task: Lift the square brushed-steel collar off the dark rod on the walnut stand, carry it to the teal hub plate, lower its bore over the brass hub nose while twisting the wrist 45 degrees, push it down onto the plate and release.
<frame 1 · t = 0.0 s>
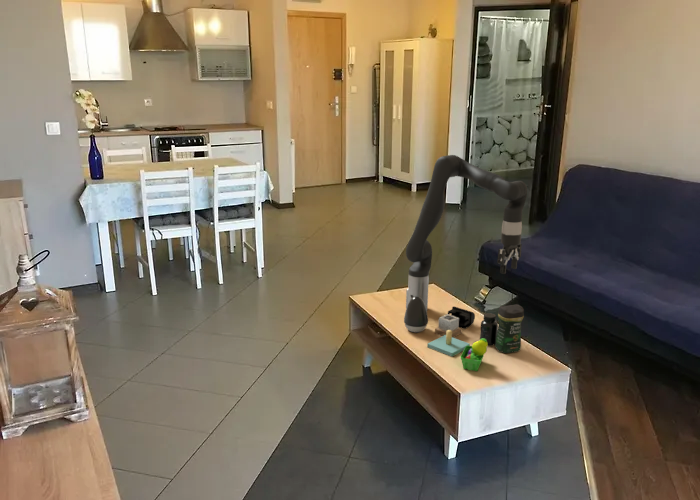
hand: (508, 271, 233), 29 cm above the table, fingers open, 8 cm apart
fruit basket: (474, 365, 218), on the table
coffee jar: (507, 349, 231), on the table
collar: (448, 328, 245), point 2 cm above the table, touching stand
dark grey rounded cone: (415, 330, 249), on the table
supplement bottle: (488, 343, 237), on the table
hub: (448, 347, 233), on the table
end cap: (460, 324, 255), on the table
stand: (448, 333, 246), on the table
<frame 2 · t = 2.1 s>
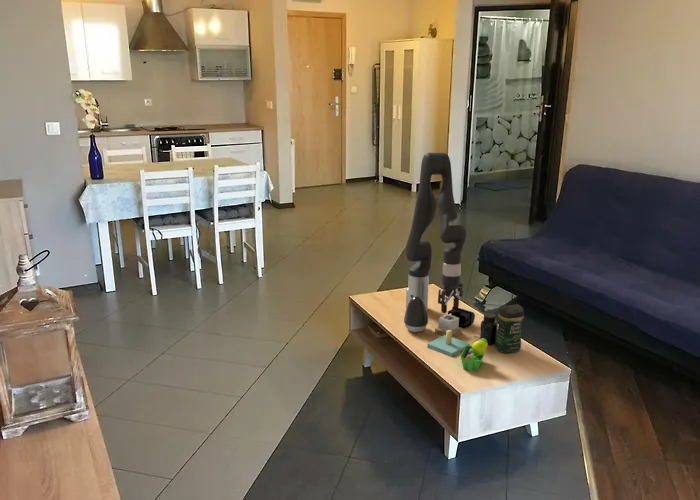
hand: (449, 309, 242), 11 cm above the table, fingers open, 8 cm apart
nothing on the table moved.
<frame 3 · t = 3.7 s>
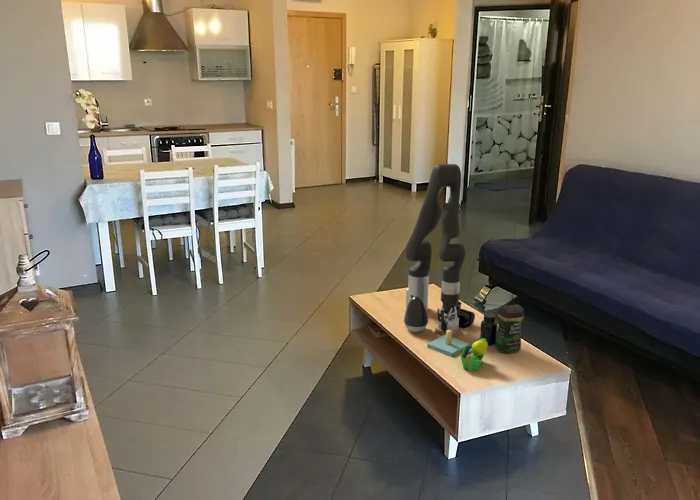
hand: (448, 328, 245), 2 cm above the table, fingers closed on collar, 6 cm apart
collar: (448, 328, 245), point 2 cm above the table, touching gripper, stand
everything else where it was.
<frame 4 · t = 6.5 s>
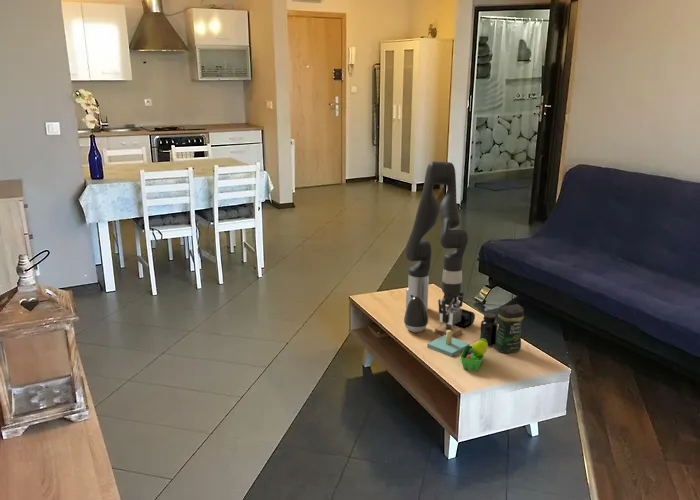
hand: (450, 320, 229), 12 cm above the table, fingers closed on collar, 6 cm apart
collar: (450, 321, 230), point 11 cm above the table, touching gripper
everything else where it was.
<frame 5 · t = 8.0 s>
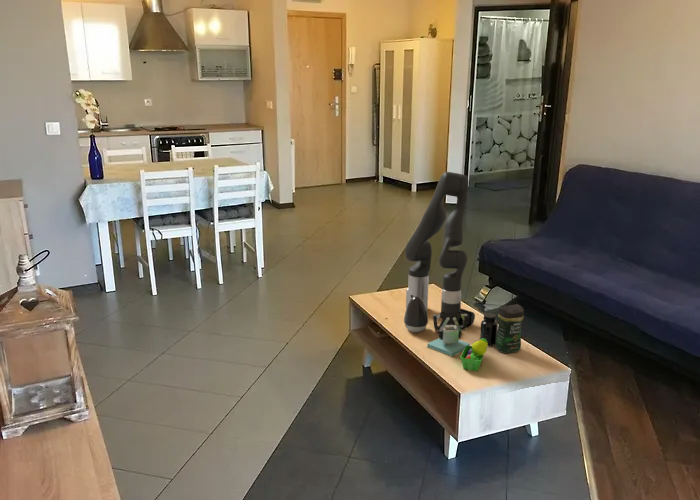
hand: (449, 338, 232), 4 cm above the table, fingers closed on collar, 6 cm apart
collar: (449, 339, 232), point 3 cm above the table, touching gripper
everything else where it was.
when the fingers open (2 cm above the table, at t = 9.1 s): collar stays where it is, resting on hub.
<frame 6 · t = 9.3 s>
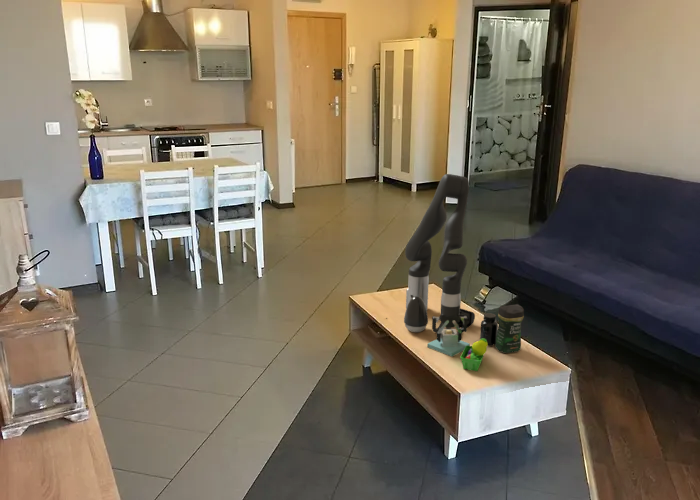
hand: (448, 341, 232), 3 cm above the table, fingers open, 7 cm apart
collar: (448, 343, 232), point 1 cm above the table, touching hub
everything else where it was.
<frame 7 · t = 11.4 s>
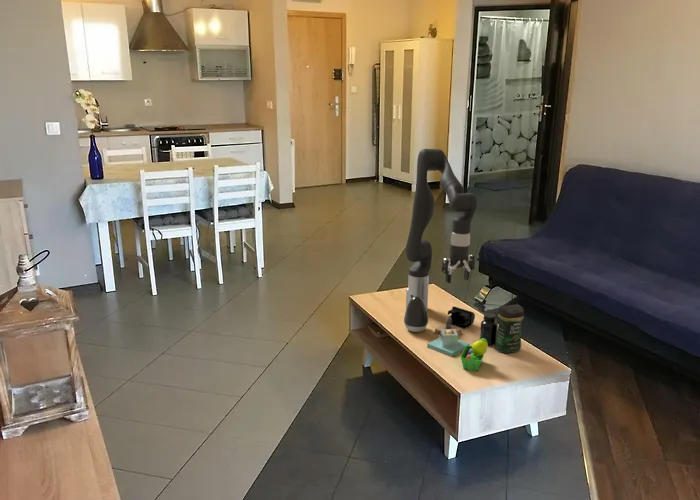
hand: (457, 281, 235), 25 cm above the table, fingers open, 8 cm apart
nothing on the table moved.
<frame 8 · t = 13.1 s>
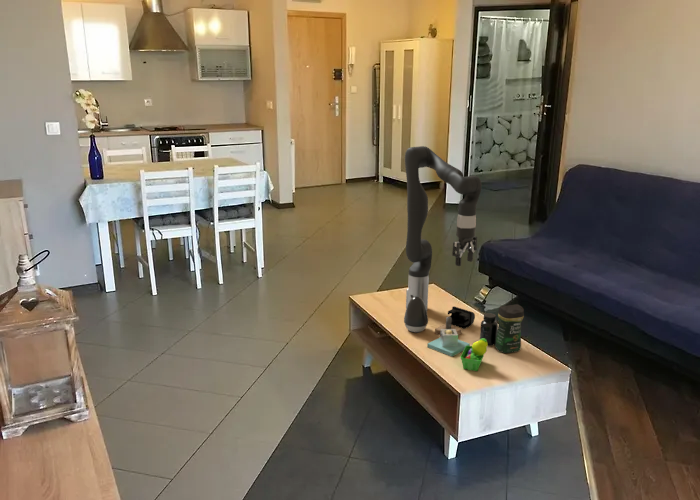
hand: (464, 263, 240), 30 cm above the table, fingers open, 8 cm apart
nothing on the table moved.
at the end: collar 0.0 cm off-centre on the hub, point 1.5 cm above the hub's base; collar tilted 0°; the gripper is holding nothing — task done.
